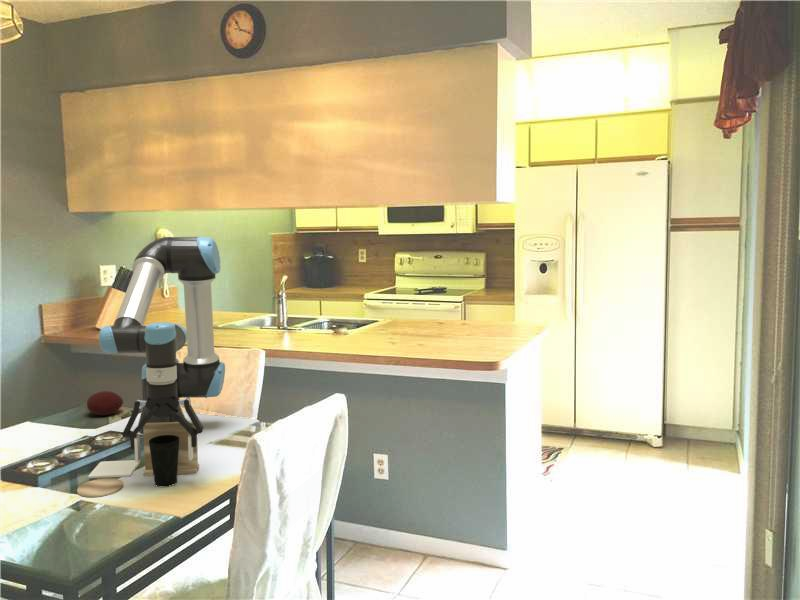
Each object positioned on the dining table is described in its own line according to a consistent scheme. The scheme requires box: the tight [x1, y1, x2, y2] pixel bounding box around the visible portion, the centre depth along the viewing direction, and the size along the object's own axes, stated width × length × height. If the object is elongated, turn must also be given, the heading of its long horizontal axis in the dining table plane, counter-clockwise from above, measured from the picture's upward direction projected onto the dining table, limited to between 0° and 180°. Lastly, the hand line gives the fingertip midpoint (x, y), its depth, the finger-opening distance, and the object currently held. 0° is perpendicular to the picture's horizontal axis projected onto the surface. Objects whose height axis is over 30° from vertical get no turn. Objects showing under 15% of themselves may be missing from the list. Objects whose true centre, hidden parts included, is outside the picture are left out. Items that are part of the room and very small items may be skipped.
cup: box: [149, 435, 179, 487], centre depth 175 cm, size 8×8×12 cm
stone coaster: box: [87, 459, 141, 479], centre depth 184 cm, size 11×11×1 cm
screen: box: [143, 420, 200, 477], centre depth 183 cm, size 5×14×14 cm, turn 98°
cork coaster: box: [76, 477, 124, 498], centre depth 171 cm, size 11×11×1 cm
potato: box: [86, 390, 124, 417], centre depth 236 cm, size 12×11×8 cm
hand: (164, 459), depth 174 cm, fingers open, 13 cm apart
